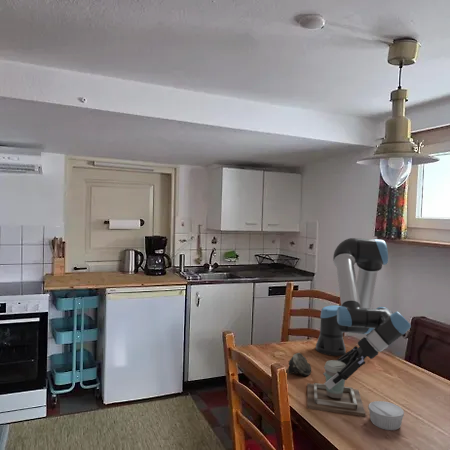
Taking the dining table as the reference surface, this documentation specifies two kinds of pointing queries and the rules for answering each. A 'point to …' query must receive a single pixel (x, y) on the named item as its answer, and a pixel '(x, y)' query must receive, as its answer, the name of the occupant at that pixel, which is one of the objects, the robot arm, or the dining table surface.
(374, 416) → the ramekin
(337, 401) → the locating board
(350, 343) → the dining table surface
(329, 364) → the coffee cup
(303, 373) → the fossil
